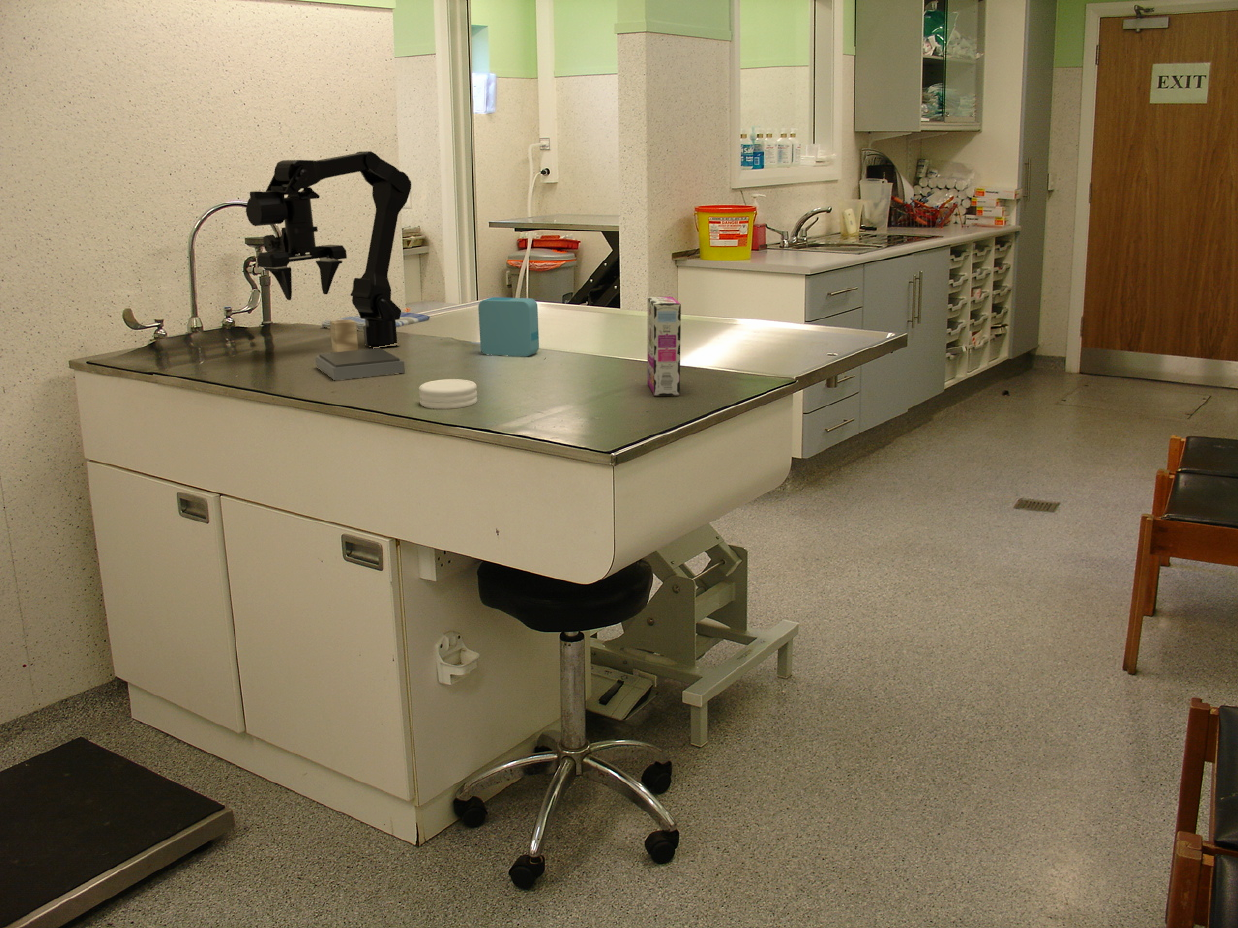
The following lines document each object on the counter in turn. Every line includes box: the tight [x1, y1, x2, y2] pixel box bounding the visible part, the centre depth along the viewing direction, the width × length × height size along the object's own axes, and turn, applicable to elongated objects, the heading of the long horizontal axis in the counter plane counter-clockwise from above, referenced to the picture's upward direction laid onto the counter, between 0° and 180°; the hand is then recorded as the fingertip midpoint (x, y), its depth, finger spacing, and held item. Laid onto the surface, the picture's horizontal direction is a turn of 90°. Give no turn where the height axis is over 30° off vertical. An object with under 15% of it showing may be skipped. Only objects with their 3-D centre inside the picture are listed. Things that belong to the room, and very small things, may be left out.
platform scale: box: [315, 348, 406, 381], centre depth 219 cm, size 14×16×3 cm
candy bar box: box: [647, 296, 682, 397], centre depth 194 cm, size 11×5×16 cm, turn 5°
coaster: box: [418, 378, 478, 410], centre depth 189 cm, size 10×10×4 cm
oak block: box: [329, 319, 359, 353], centre depth 232 cm, size 4×4×8 cm
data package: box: [477, 296, 540, 358], centre depth 233 cm, size 12×4×12 cm, turn 71°
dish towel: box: [321, 311, 431, 329], centre depth 281 cm, size 17×24×3 cm
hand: (307, 297), depth 231 cm, fingers open, 9 cm apart
